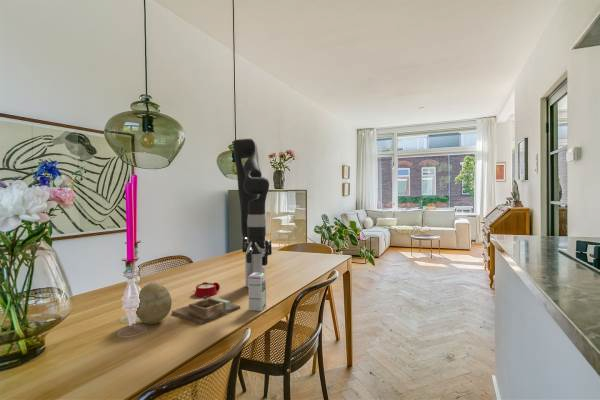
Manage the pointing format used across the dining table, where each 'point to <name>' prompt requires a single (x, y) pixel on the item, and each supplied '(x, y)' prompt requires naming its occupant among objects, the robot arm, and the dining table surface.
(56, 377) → the dining table surface
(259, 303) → the syrup box
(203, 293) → the alarm clock
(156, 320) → the fossilized egg
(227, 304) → the bar
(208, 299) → the housing
